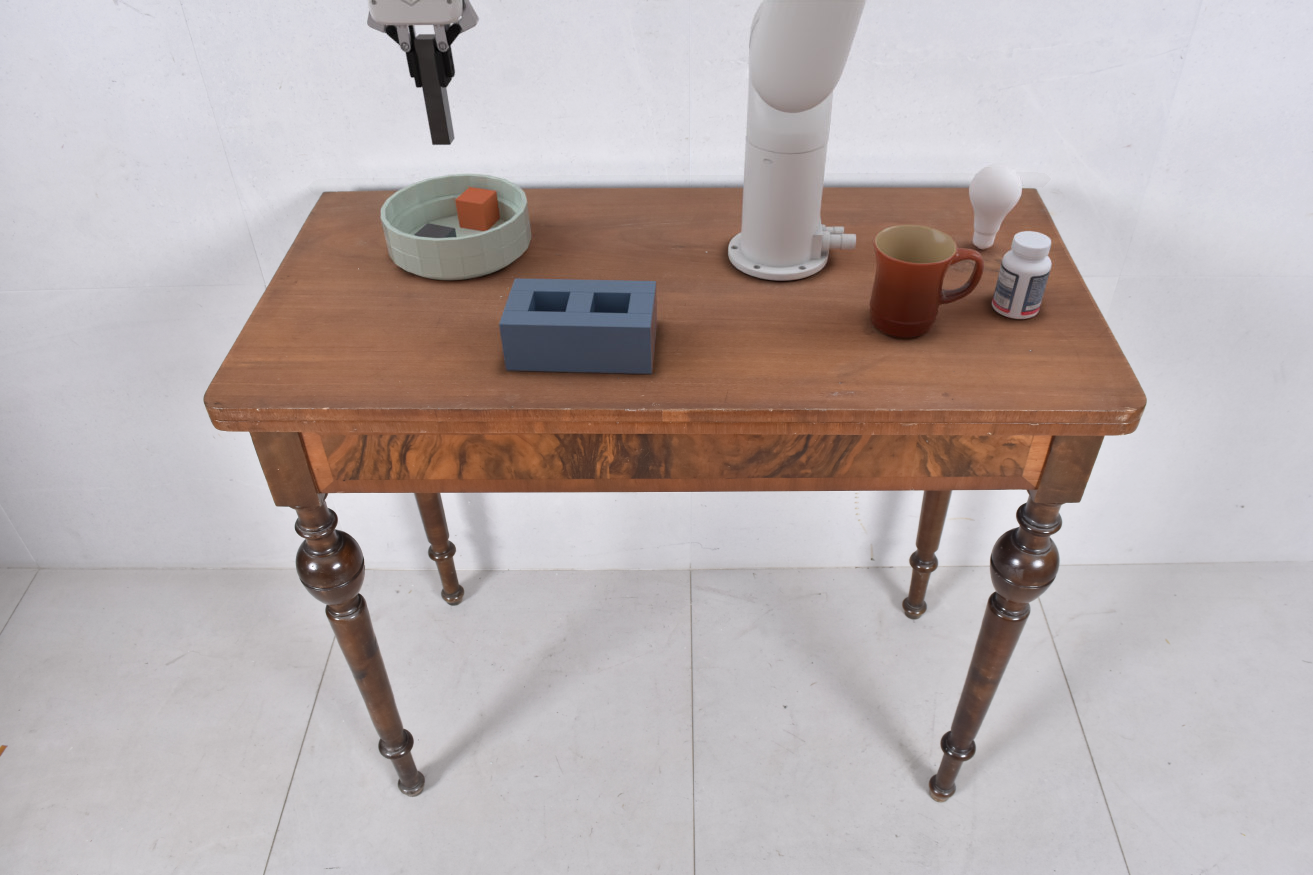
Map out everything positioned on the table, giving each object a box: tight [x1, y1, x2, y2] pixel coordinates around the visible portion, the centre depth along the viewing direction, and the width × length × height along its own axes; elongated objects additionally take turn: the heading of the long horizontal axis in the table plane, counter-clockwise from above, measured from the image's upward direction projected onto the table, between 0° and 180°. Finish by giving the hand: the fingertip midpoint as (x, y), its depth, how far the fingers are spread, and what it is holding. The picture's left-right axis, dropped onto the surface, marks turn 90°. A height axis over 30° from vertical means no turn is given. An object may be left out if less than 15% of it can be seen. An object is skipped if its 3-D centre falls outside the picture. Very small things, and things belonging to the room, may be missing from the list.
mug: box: [869, 224, 985, 339], centre depth 102 cm, size 12×9×10 cm
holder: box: [498, 277, 658, 375], centre depth 101 cm, size 9×16×6 cm, turn 86°
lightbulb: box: [968, 163, 1023, 250], centre depth 115 cm, size 6×6×11 cm
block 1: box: [414, 223, 457, 238], centre depth 115 cm, size 4×4×4 cm
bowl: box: [380, 173, 532, 281], centre depth 119 cm, size 18×18×6 cm
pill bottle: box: [991, 230, 1052, 320], centre depth 105 cm, size 5×5×9 cm
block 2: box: [455, 187, 500, 231], centre depth 123 cm, size 4×4×4 cm
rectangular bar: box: [414, 33, 455, 146], centre depth 108 cm, size 2×2×12 cm
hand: (434, 82), depth 107 cm, fingers closed on rectangular bar, 2 cm apart
